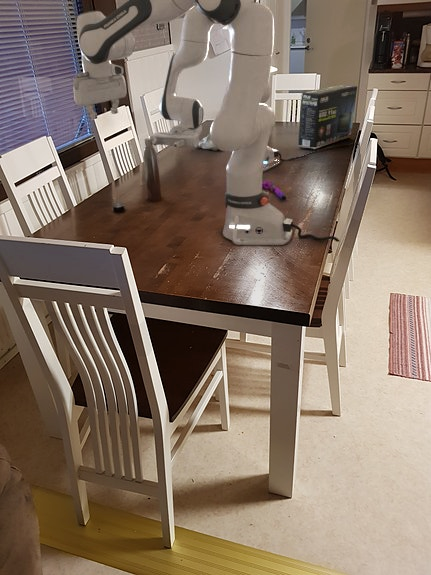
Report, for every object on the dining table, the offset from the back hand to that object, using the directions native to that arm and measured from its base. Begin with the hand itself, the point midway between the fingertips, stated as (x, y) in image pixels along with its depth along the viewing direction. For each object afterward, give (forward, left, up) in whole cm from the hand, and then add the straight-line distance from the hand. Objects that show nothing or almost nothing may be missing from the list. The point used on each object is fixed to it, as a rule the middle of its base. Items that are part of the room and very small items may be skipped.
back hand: (165, 144), depth 181 cm
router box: (-101, +7, -18) cm, 103 cm away
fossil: (-57, -36, -18) cm, 70 cm away
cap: (+28, +5, -16) cm, 33 cm away
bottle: (+12, +5, -18) cm, 22 cm away
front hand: (+28, +5, +15) cm, 33 cm away
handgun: (-24, +34, -18) cm, 46 cm away
